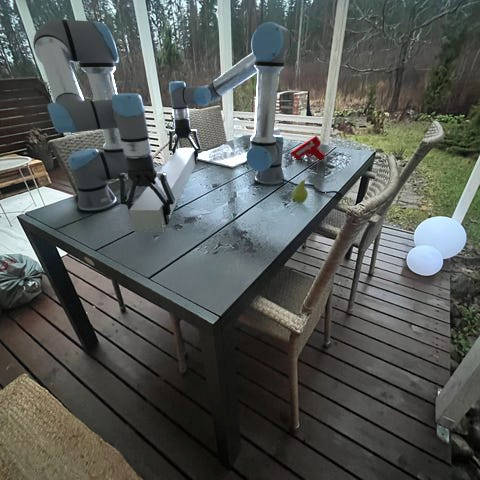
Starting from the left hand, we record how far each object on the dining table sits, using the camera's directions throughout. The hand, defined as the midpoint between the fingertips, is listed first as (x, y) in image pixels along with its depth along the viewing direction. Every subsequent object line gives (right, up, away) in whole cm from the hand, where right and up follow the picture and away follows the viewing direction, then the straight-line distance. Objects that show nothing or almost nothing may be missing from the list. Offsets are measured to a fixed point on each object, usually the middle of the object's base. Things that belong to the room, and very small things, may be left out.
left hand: (152, 222), depth 90 cm
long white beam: (0, +17, +28) cm, 32 cm away
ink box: (+55, +67, +118) cm, 146 cm away
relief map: (+19, +49, +91) cm, 105 cm away
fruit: (+56, +11, +32) cm, 65 cm away
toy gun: (+73, +46, +85) cm, 121 cm away
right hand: (+1, +35, +55) cm, 65 cm away
